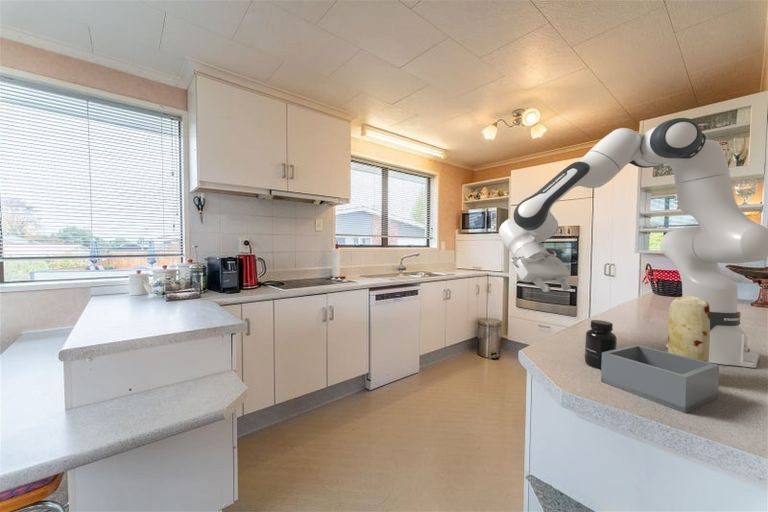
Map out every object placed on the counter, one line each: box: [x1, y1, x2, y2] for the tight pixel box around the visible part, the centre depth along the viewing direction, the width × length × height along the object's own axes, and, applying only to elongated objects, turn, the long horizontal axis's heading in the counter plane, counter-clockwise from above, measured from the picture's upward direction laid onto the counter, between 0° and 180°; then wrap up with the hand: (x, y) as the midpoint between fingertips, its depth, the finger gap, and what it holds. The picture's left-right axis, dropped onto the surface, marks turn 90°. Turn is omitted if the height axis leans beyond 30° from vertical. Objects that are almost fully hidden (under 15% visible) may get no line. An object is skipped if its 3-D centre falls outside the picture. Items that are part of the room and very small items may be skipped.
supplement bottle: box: [584, 319, 618, 370], centre depth 81 cm, size 7×7×12 cm
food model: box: [667, 296, 710, 363], centre depth 75 cm, size 10×7×20 cm
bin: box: [600, 344, 720, 414], centre depth 68 cm, size 15×15×7 cm
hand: (558, 290), depth 92 cm, fingers open, 8 cm apart
